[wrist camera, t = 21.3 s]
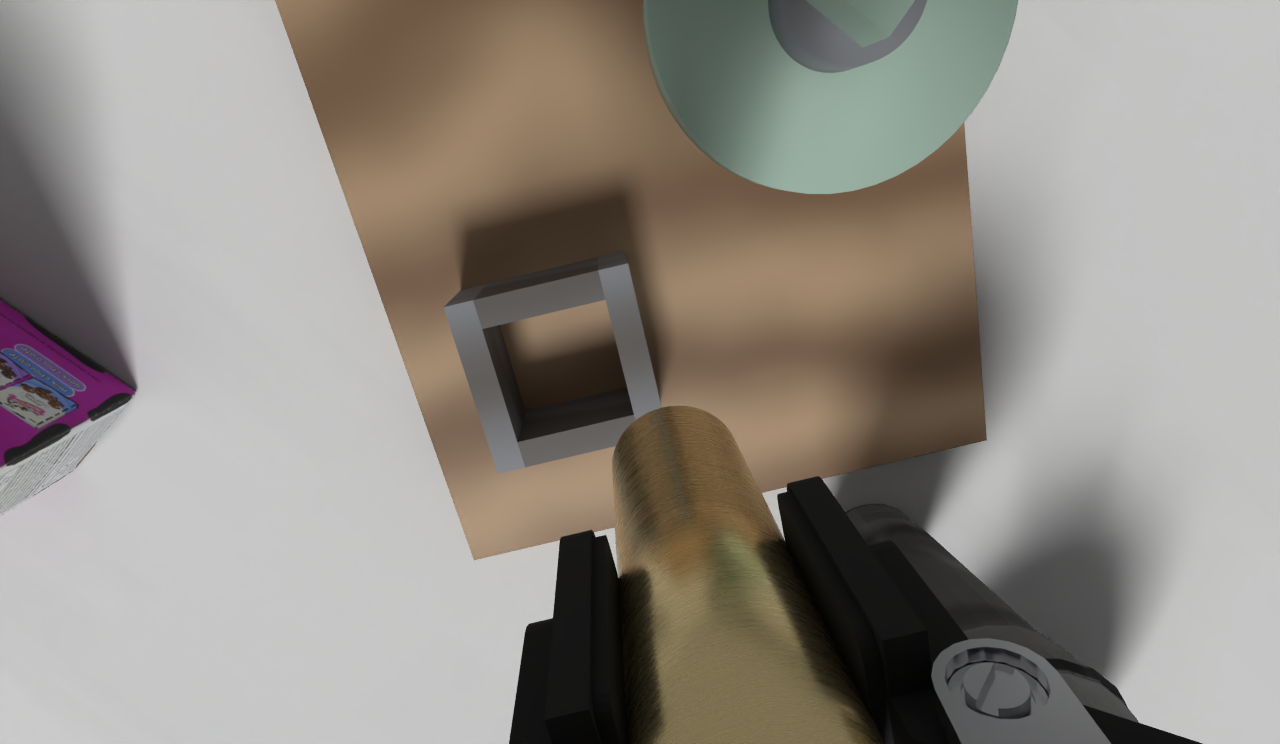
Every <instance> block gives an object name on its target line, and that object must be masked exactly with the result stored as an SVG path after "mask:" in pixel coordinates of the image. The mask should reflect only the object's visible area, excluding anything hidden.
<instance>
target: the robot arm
mask: <svg viewBox="0 0 1280 744" xmlns="http://www.w3.org/2000/svg"><path fill="white" fill-rule="evenodd" d="M777 498H778V505H779V510H780V516H781V521H782V526H783V532H784V537H785V542H786V544H787V546H788V548H789V550H790V552H791V554H792V556H793V558H794V560H795V562H796V564H797V567H798V569H799V571H800V573H801V575H802V577H803V579H804V581H805V583H806V585H807V587H808V589H809V591H810V593H811V595H812V597H813V599H814V601H815V603H816V605H817V607H818V609H819V611H820V613H821V615H822V617H823V619H824V621H825V623H826V625H827V627H828V629H829V631H830V634H831V636H832V638H833V640H834V642H835V644H836V646H837V648H838V650H839V652H840V654H841V656H842V658H843V660H844V662H845V664H846V666H847V668H848V670H849V672H850V674H851V676H852V678H853V680H854V682H855V684H856V686H857V688H858V690H859V692H860V694H861V696H862V698H863V701H864V703H865V705H866V707H867V709H868V711H869V713H870V715H871V717H872V719H873V720H874V722H875V724H876V726H877V728H878V730H879V732H880V734H881V736H882V739H883V741H884V743H885V744H1202V743H1199V742H1196V741H1193V740H1190V739H1187V738H1184V737H1181V736H1177V735H1174V734H1171V733H1168V732H1165V731H1162V730H1159V729H1156V728H1153V727H1150V726H1147V725H1144V724H1141V723H1138V722H1135V721H1132V720H1129V719H1125V718H1122V717H1119V716H1116V715H1113V714H1110V713H1107V712H1104V711H1101V710H1098V709H1095V708H1092V707H1089V706H1086V705H1083V704H1081V702H1080V701H1079V700H1078V698H1077V697H1076V696H1075V694H1074V693H1073V692H1072V690H1071V689H1070V688H1069V686H1068V685H1067V683H1066V682H1065V681H1064V679H1063V678H1062V677H1061V675H1060V674H1059V673H1058V671H1057V670H1056V669H1055V668H1054V667H1053V666H1052V665H1051V664H1050V663H1049V662H1048V661H1047V660H1046V659H1045V658H1043V657H1041V656H1040V655H1038V654H1037V653H1035V652H1033V651H1032V650H1030V649H1028V648H1026V647H1023V646H1020V645H1017V644H1015V643H1012V642H1009V641H1003V640H997V639H990V638H984V639H968V638H967V636H966V635H965V634H964V632H963V631H962V630H961V628H960V627H959V626H958V625H957V623H956V622H955V621H954V619H953V618H952V617H951V616H950V614H949V613H948V612H947V610H946V609H945V608H944V606H943V605H942V604H941V603H940V601H939V600H938V599H937V597H936V596H935V595H934V593H933V592H932V591H931V590H930V588H929V587H928V586H927V584H926V583H925V582H924V581H923V579H922V578H921V577H920V575H919V574H918V573H917V571H916V570H915V569H914V568H913V566H912V565H911V564H910V562H909V561H908V560H907V558H906V557H905V556H904V555H903V553H902V552H901V551H900V549H899V548H898V547H897V546H896V544H895V543H894V542H893V541H892V540H888V539H887V540H883V541H878V542H874V543H870V544H867V543H866V542H865V540H864V539H863V537H862V536H861V534H860V533H859V532H858V530H857V529H856V527H855V526H854V524H853V523H852V522H851V520H850V519H849V517H848V516H847V514H846V513H845V512H844V510H843V509H842V507H841V506H840V504H839V503H838V502H837V500H836V499H835V497H834V496H833V494H832V493H831V492H830V490H829V489H828V487H827V486H826V484H825V483H824V482H823V480H822V479H821V478H820V476H816V477H812V478H807V479H803V480H799V481H795V482H790V483H787V492H785V493H781V494H778V495H777ZM509 744H628V732H627V715H626V698H625V680H624V663H623V646H622V628H621V611H620V593H619V578H618V574H617V571H616V567H615V564H614V560H613V557H612V553H611V550H610V546H609V543H608V539H607V537H606V535H604V536H599V537H595V535H594V532H593V531H592V530H588V531H584V532H580V533H576V534H571V535H567V536H563V537H561V538H560V546H559V558H558V569H557V580H556V591H555V603H554V614H553V618H552V619H548V620H544V621H540V622H535V623H531V624H529V625H528V626H527V628H526V632H525V637H524V644H523V651H522V658H521V665H520V672H519V679H518V686H517V693H516V700H515V707H514V714H513V720H512V727H511V734H510V741H509Z"/></svg>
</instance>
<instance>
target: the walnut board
mask: <svg viewBox="0 0 1280 744" xmlns="http://www.w3.org/2000/svg"><path fill="white" fill-rule="evenodd" d="M275 1H276V4H277V7H278V10H279V12H280V15H281V18H282V21H283V24H284V27H285V29H286V32H287V35H288V38H289V41H290V43H291V46H292V49H293V52H294V55H295V57H296V60H297V63H298V66H299V69H300V72H301V74H302V77H303V80H304V83H305V86H306V88H307V91H308V94H309V97H310V100H311V103H312V105H313V108H314V111H315V114H316V117H317V119H318V122H319V125H320V128H321V131H322V133H323V136H324V139H325V142H326V145H327V148H328V150H329V153H330V156H331V159H332V162H333V164H334V167H335V170H336V173H337V176H338V179H339V181H340V184H341V187H342V190H343V193H344V195H345V198H346V201H347V204H348V207H349V209H350V212H351V215H352V218H353V221H354V224H355V226H356V229H357V232H358V235H359V238H360V240H361V243H362V246H363V249H364V252H365V254H366V257H367V260H368V263H369V266H370V269H371V271H372V274H373V277H374V280H375V283H376V285H377V288H378V291H379V294H380V297H381V300H382V302H383V305H384V308H385V311H386V314H387V316H388V319H389V322H390V325H391V328H392V330H393V333H394V336H395V339H396V342H397V345H398V347H399V350H400V353H401V356H402V359H403V361H404V364H405V367H406V370H407V373H408V376H409V378H410V381H411V384H412V387H413V390H414V392H415V395H416V398H417V401H418V404H419V406H420V409H421V412H422V415H423V418H424V421H425V423H426V426H427V429H428V432H429V435H430V437H431V440H432V443H433V446H434V449H435V452H436V454H437V457H438V460H439V463H440V466H441V468H442V471H443V474H444V477H445V480H446V482H447V485H448V488H449V491H450V494H451V497H452V499H453V502H454V505H455V508H456V511H457V513H458V516H459V519H460V522H461V525H462V527H463V530H464V533H465V536H466V539H467V542H468V544H469V547H470V550H471V553H472V556H473V558H474V560H477V559H481V558H485V557H490V556H494V555H498V554H502V553H507V552H511V551H515V550H520V549H524V548H528V547H532V546H537V545H541V544H545V543H549V542H554V541H558V540H560V538H561V537H563V536H567V535H571V534H576V533H580V532H584V531H588V530H592V531H593V532H596V531H601V530H605V529H609V528H613V527H615V517H614V499H613V481H612V458H613V453H614V450H615V447H616V445H617V442H618V441H619V439H620V437H621V435H622V434H623V433H624V431H625V430H626V429H627V428H628V427H629V426H630V425H631V424H632V423H633V422H634V421H636V420H637V419H638V418H640V417H641V416H643V415H644V414H646V413H648V412H651V411H653V410H656V409H659V408H662V407H668V406H690V407H695V408H698V409H701V410H704V411H706V412H708V413H710V414H712V415H714V416H715V417H717V418H718V419H719V420H720V421H722V422H723V423H724V424H725V425H726V427H727V428H728V429H729V430H730V432H731V433H732V435H733V436H734V438H735V441H736V443H737V445H738V447H739V449H740V451H741V453H742V455H743V457H744V459H745V461H746V463H747V465H748V467H749V469H750V471H751V473H752V475H753V477H754V479H755V481H756V483H757V485H758V487H759V489H760V491H761V493H763V492H767V491H771V490H776V489H780V488H784V487H787V483H790V482H795V481H799V480H803V479H807V478H812V477H816V476H820V478H821V479H823V478H827V477H831V476H836V475H840V474H844V473H848V472H853V471H857V470H861V469H865V468H870V467H874V466H878V465H882V464H887V463H891V462H895V461H900V460H904V459H908V458H912V457H917V456H921V455H925V454H929V453H934V452H938V451H942V450H947V449H951V448H955V447H959V446H964V445H968V444H972V443H976V442H981V441H985V440H987V438H986V424H985V410H984V396H983V382H982V368H981V354H980V340H979V326H978V312H977V297H976V283H975V269H974V255H973V241H972V227H971V213H970V199H969V185H968V171H967V157H966V142H965V128H964V123H963V124H962V125H961V126H960V127H959V128H958V130H957V131H956V132H955V133H954V134H953V135H952V136H951V137H950V138H949V139H948V140H947V141H946V142H944V143H943V144H942V145H941V146H940V147H939V148H938V149H937V150H936V151H934V152H933V153H932V154H930V155H929V156H928V157H926V158H925V159H924V160H922V161H921V162H919V163H918V164H917V165H915V166H913V167H911V168H910V169H908V170H906V171H904V172H903V173H901V174H899V175H897V176H895V177H893V178H891V179H888V180H886V181H883V182H881V183H878V184H876V185H873V186H869V187H866V188H862V189H858V190H855V191H849V192H842V193H834V194H805V193H798V192H791V191H784V190H779V189H774V188H770V187H766V186H763V185H759V184H756V183H752V182H750V181H748V180H746V179H743V178H741V177H739V176H737V175H734V174H732V173H731V172H729V171H728V170H726V169H724V168H723V167H721V166H720V165H718V164H717V163H715V162H714V161H713V160H711V159H710V158H709V157H708V156H707V155H705V154H704V153H703V152H702V151H701V150H700V149H698V148H697V147H696V145H695V144H694V143H693V142H692V141H691V140H690V139H689V138H688V137H687V135H686V134H685V133H684V132H683V131H682V129H681V128H680V126H679V125H678V124H677V122H676V121H675V119H674V118H673V116H672V115H671V113H670V112H669V110H668V108H667V106H666V104H665V102H664V100H663V98H662V96H661V94H660V92H659V89H658V87H657V84H656V81H655V78H654V76H653V73H652V70H651V66H650V62H649V58H648V53H647V49H646V44H645V35H644V26H643V0H275Z"/></svg>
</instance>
